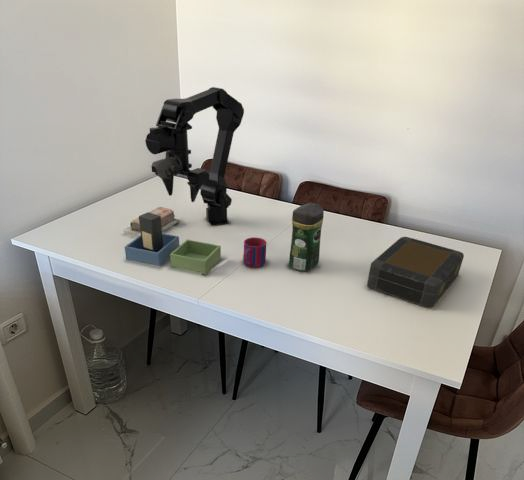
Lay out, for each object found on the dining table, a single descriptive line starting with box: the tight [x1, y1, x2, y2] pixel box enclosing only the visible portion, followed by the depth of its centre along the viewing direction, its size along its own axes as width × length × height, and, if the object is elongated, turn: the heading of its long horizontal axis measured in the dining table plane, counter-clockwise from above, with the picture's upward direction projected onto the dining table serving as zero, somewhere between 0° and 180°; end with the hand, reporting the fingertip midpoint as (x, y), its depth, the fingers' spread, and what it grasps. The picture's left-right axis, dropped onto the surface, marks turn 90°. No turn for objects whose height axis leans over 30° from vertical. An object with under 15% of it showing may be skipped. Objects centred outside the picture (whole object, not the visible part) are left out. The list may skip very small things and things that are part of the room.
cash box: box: [366, 236, 465, 308], centre depth 143 cm, size 25×20×8 cm
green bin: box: [169, 239, 222, 276], centre depth 148 cm, size 11×11×5 cm
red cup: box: [242, 236, 267, 269], centre depth 148 cm, size 7×10×7 cm
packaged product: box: [123, 206, 181, 238], centre depth 167 cm, size 18×5×10 cm
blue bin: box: [124, 232, 180, 267], centre depth 152 cm, size 13×11×5 cm
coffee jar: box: [288, 202, 325, 272], centre depth 146 cm, size 10×8×19 cm
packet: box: [138, 211, 163, 252], centre depth 149 cm, size 4×5×12 cm
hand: (181, 198), depth 157 cm, fingers open, 9 cm apart
